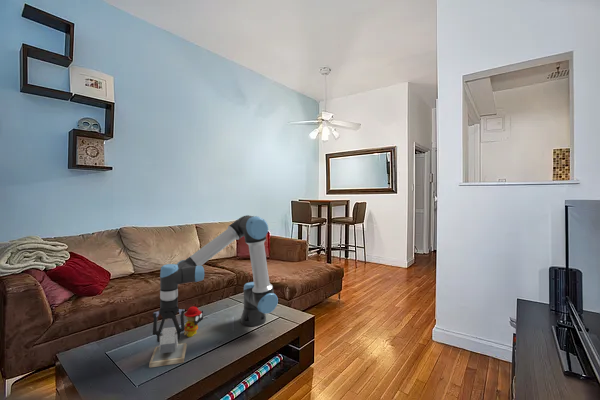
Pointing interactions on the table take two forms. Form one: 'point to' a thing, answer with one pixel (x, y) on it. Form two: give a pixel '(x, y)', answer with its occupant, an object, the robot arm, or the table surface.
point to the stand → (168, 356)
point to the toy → (192, 321)
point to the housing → (168, 340)
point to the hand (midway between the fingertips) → (168, 347)
